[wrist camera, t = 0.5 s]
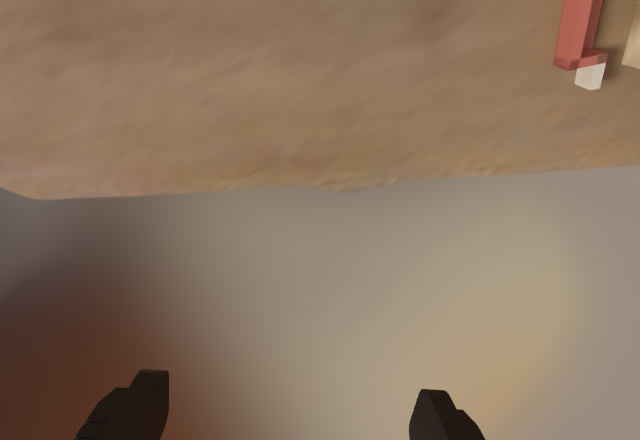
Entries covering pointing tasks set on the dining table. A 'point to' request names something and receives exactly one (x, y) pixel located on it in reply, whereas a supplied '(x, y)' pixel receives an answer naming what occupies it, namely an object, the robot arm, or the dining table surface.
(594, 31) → the trap lane
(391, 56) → the dining table surface
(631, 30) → the birch block
